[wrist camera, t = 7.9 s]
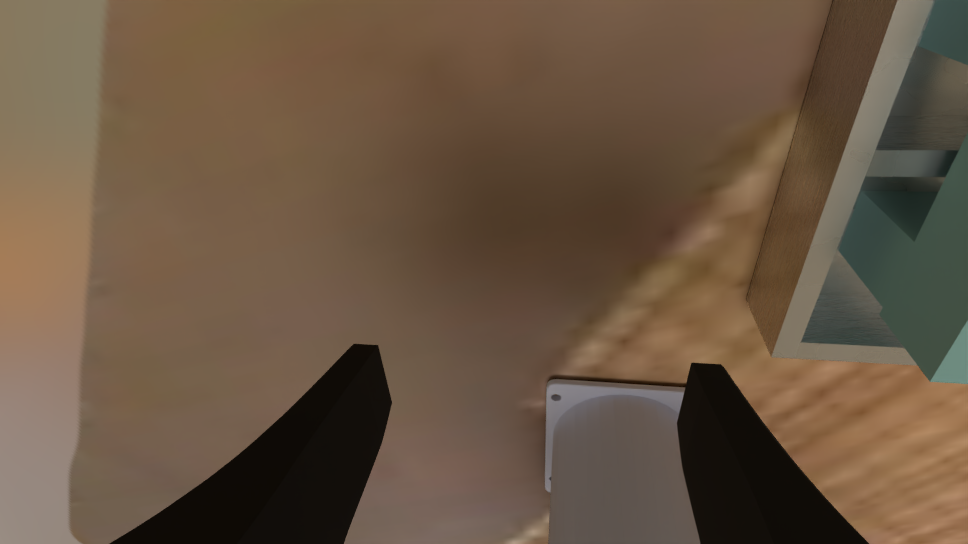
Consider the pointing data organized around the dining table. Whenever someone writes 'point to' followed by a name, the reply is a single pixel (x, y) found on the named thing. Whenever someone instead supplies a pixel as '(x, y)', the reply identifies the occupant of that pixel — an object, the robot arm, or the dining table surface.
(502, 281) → the dining table surface
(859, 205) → the clip
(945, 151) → the cabinet frame
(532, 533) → the dining table surface
